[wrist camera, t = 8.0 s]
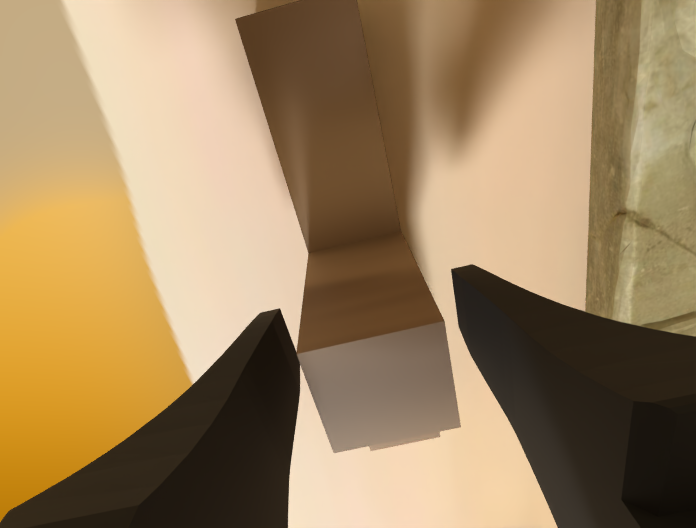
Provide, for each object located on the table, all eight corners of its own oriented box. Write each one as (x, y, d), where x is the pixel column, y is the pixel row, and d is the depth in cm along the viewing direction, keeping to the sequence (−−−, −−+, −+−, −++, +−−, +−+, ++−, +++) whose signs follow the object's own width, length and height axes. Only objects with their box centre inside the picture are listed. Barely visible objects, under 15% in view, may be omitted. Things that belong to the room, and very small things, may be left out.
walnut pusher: (424, 385, 19) (483, 575, 11) (364, 398, 19) (386, 593, 12) (348, 7, 12) (377, -109, 5) (256, 33, 12) (147, -42, 5)
